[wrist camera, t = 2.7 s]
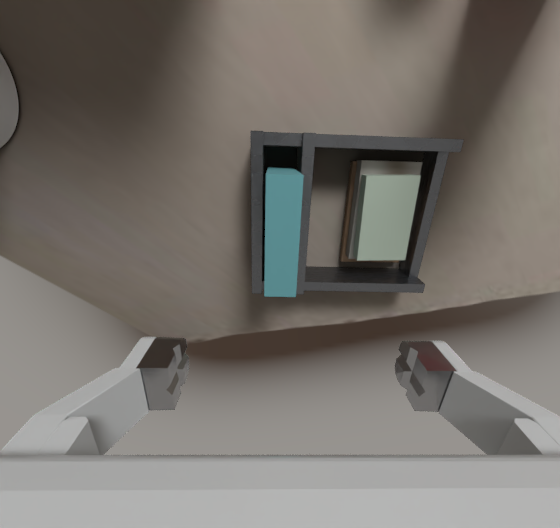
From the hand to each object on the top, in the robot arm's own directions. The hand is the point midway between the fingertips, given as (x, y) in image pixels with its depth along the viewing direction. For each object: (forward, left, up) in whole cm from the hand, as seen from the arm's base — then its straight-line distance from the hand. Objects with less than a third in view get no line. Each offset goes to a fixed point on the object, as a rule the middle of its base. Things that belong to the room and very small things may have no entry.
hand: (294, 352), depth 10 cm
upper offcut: (+12, 0, -24) cm, 27 cm away
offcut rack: (+8, 0, -27) cm, 28 cm away
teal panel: (0, 0, -27) cm, 27 cm away
